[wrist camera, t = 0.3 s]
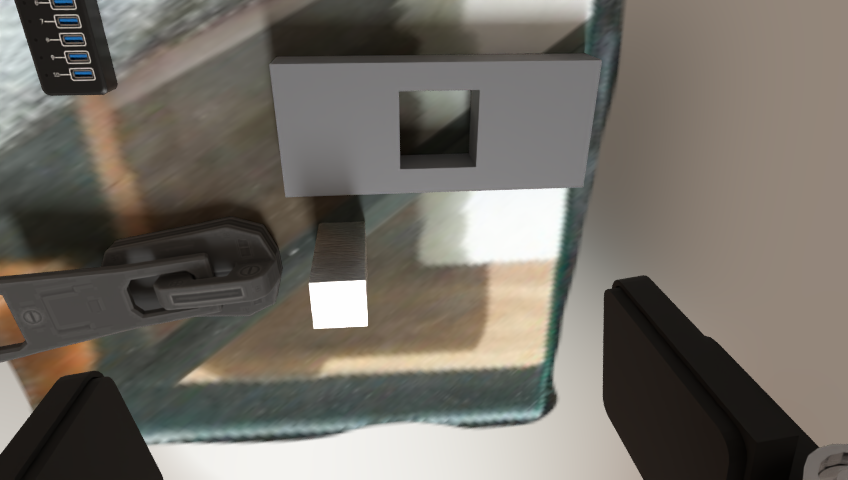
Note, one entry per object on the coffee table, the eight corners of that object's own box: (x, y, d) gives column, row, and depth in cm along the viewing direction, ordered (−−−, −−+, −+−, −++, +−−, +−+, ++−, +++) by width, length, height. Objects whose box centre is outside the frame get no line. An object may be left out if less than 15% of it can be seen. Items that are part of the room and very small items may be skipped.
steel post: (319, 223, 47) (308, 282, 38) (365, 221, 48) (365, 280, 39) (322, 262, 49) (313, 328, 40) (367, 260, 49) (367, 325, 41)
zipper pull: (-90, 283, 39) (257, 248, 40) (-31, 241, 45) (271, 212, 46) (-34, 377, 43) (280, 342, 45) (14, 327, 49) (290, 298, 50)
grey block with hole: (276, 56, 41) (269, 64, 37) (584, 53, 43) (601, 60, 40) (291, 181, 45) (285, 197, 42) (568, 172, 47) (582, 187, 44)
